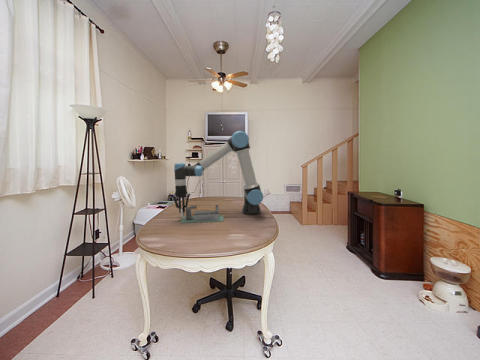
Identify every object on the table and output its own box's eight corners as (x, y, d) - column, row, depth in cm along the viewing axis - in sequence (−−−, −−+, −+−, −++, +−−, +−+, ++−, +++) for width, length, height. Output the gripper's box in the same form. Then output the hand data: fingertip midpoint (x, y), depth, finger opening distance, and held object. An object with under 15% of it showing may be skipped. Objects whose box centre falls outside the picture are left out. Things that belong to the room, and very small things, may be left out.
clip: (197, 217, 156) (197, 205, 154) (196, 219, 150) (196, 207, 148) (187, 217, 155) (186, 205, 154) (186, 220, 149) (185, 207, 148)
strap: (217, 209, 155) (217, 208, 155) (217, 211, 151) (217, 209, 151) (195, 208, 154) (195, 207, 153) (194, 210, 150) (194, 208, 149)
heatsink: (218, 215, 159) (218, 204, 158) (218, 220, 148) (218, 208, 147) (196, 216, 158) (195, 204, 157) (194, 221, 147) (193, 208, 146)
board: (223, 215, 161) (223, 215, 161) (223, 221, 148) (223, 220, 148) (183, 217, 158) (183, 216, 158) (180, 223, 145) (180, 222, 145)
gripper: (190, 183, 153) (192, 215, 156) (172, 184, 152) (174, 215, 155) (189, 185, 145) (190, 218, 148) (170, 185, 144) (172, 218, 147)
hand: (182, 216), depth 151 cm, fingers closed
